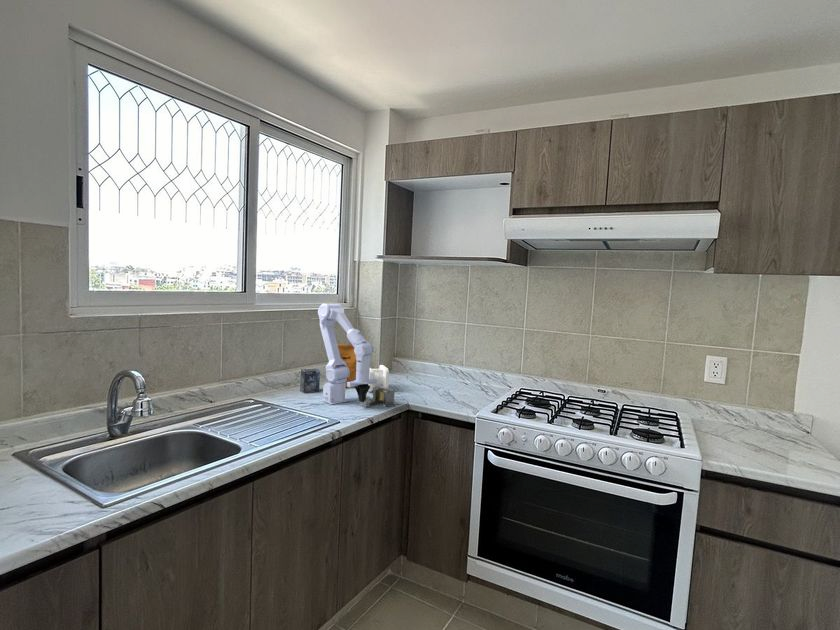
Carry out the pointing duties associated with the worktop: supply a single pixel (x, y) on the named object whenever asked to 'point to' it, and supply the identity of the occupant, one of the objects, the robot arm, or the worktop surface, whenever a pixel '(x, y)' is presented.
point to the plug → (368, 403)
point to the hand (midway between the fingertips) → (361, 401)
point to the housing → (388, 396)
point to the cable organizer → (379, 377)
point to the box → (310, 380)
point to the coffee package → (349, 360)
